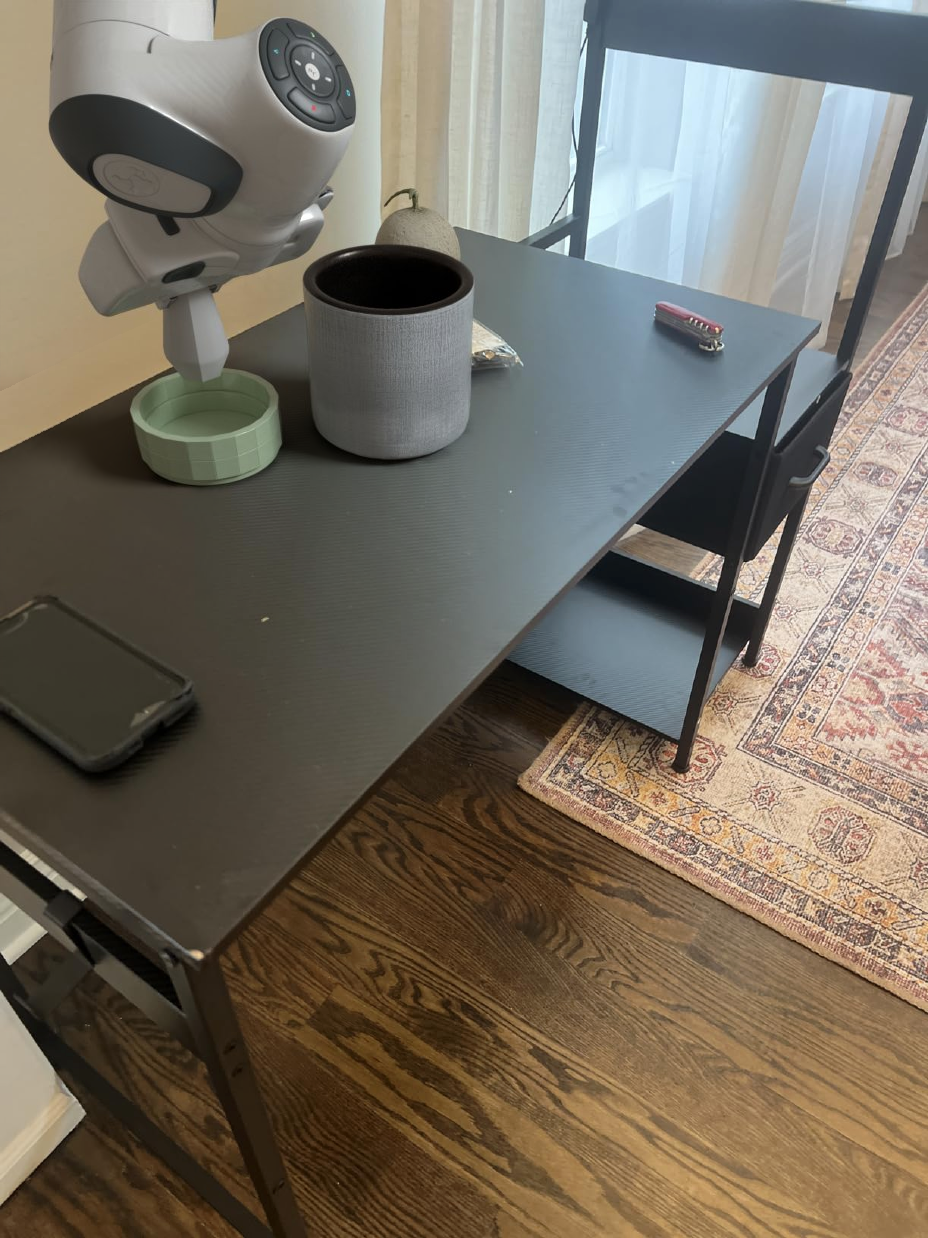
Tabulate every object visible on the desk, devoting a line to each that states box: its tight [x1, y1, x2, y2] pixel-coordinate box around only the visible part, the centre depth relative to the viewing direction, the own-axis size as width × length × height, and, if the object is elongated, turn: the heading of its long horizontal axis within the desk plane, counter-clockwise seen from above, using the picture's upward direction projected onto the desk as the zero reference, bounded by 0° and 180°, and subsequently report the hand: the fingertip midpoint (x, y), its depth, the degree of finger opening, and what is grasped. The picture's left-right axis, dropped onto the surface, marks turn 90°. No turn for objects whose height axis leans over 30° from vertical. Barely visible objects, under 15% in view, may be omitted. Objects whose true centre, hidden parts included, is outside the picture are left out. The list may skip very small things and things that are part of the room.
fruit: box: [374, 187, 461, 262], centre depth 112 cm, size 10×12×15 cm
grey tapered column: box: [162, 286, 230, 382], centre depth 81 cm, size 6×6×13 cm
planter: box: [301, 243, 475, 461], centre depth 90 cm, size 16×16×16 cm
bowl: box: [129, 367, 284, 486], centre depth 90 cm, size 14×14×5 cm
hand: (183, 293), depth 81 cm, fingers closed on grey tapered column, 3 cm apart
